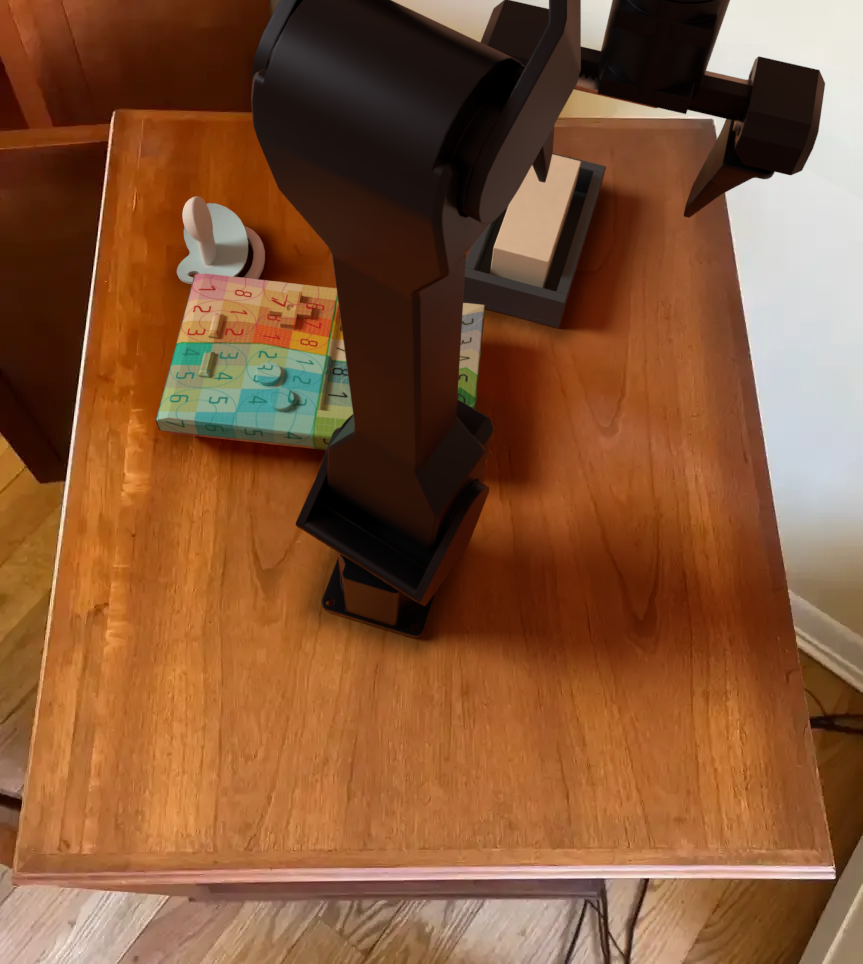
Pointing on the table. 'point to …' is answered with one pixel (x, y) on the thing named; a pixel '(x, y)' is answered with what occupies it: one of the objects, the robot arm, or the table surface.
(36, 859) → the table surface
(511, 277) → the block
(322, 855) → the table surface
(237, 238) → the pacifier
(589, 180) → the tray
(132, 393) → the table surface
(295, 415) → the puzzle game
